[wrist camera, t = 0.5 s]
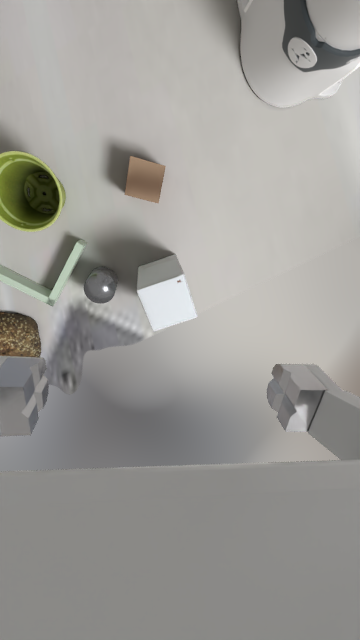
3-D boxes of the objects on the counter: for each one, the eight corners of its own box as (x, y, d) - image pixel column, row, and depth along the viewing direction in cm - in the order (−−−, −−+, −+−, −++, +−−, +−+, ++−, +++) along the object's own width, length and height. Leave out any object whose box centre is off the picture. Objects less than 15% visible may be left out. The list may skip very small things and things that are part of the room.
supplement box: (137, 266, 49) (134, 289, 38) (176, 253, 49) (185, 272, 38) (150, 302, 53) (152, 333, 41) (187, 290, 52) (199, 318, 41)
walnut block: (131, 159, 42) (130, 155, 38) (163, 168, 43) (165, 166, 39) (126, 194, 44) (124, 194, 40) (157, 201, 45) (158, 203, 41)
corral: (-22, 178, 41) (-34, 178, 38) (87, 242, 47) (83, 246, 44) (-47, 248, 45) (-59, 252, 42) (57, 300, 50) (52, 306, 48)
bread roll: (44, 316, 52) (35, 328, 47) (41, 369, 56) (32, 385, 52) (-32, 303, 49) (-49, 314, 45) (-28, 360, 54) (-44, 375, 49)
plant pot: (6, 155, 40) (-27, 147, 32) (73, 160, 41) (57, 154, 34) (18, 222, 44) (-9, 229, 36) (79, 225, 45) (65, 233, 38)
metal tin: (97, 261, 48) (92, 268, 44) (122, 276, 50) (120, 284, 45) (84, 284, 50) (78, 294, 45) (109, 298, 51) (106, 308, 47)
